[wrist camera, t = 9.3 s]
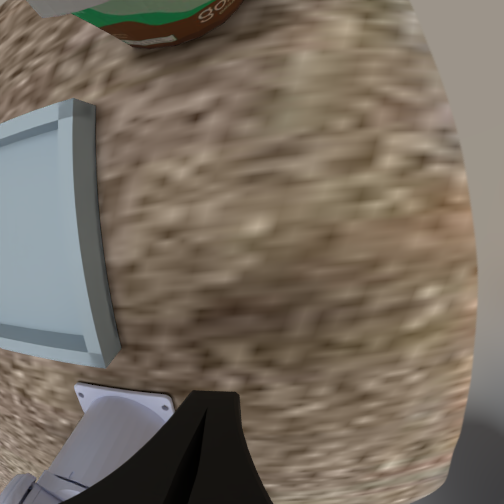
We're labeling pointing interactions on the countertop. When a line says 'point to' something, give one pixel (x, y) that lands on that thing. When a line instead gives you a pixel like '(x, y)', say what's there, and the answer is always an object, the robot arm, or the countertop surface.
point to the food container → (145, 18)
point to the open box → (53, 239)
